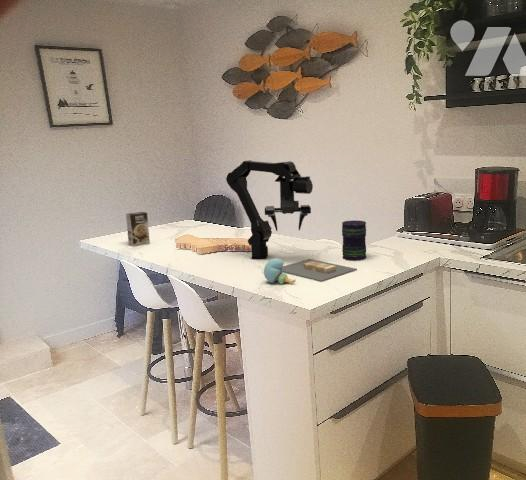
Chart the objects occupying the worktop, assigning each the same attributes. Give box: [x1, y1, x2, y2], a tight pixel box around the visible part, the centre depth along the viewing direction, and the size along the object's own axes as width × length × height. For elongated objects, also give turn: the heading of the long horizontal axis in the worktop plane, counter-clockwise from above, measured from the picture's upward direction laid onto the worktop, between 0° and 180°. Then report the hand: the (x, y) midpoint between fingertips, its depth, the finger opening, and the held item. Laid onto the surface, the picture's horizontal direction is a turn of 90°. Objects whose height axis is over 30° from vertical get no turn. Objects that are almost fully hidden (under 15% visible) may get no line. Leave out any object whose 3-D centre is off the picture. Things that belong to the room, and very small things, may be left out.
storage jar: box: [341, 219, 367, 262], centre depth 210 cm, size 10×10×15 cm
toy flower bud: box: [263, 258, 296, 285], centre depth 181 cm, size 7×9×12 cm
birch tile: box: [303, 261, 336, 274], centre depth 194 cm, size 2×5×12 cm
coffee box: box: [125, 211, 151, 247], centre depth 259 cm, size 9×6×16 cm
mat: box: [282, 258, 358, 283], centre depth 197 cm, size 25×20×1 cm
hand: (288, 230), depth 210 cm, fingers open, 9 cm apart
